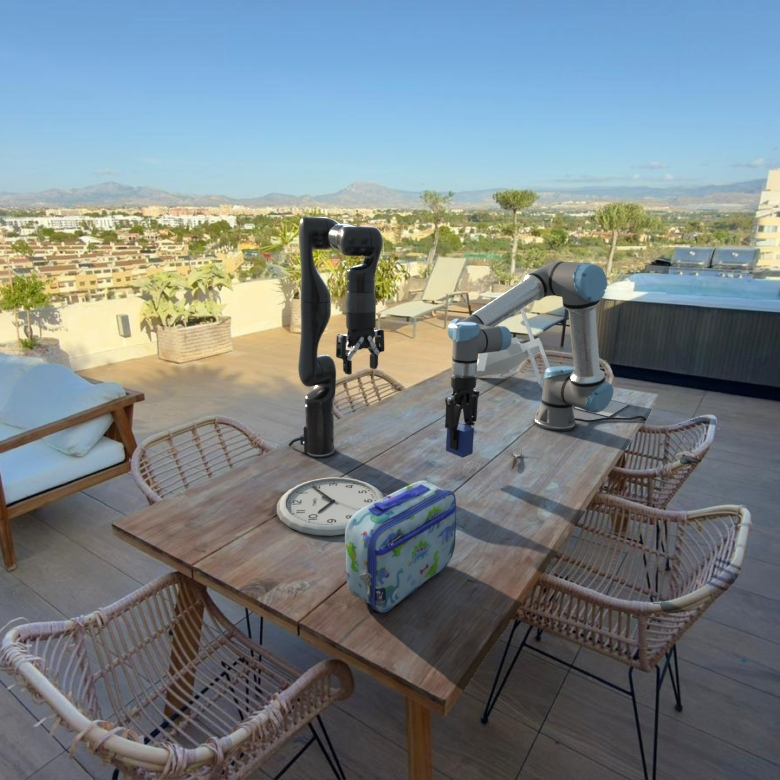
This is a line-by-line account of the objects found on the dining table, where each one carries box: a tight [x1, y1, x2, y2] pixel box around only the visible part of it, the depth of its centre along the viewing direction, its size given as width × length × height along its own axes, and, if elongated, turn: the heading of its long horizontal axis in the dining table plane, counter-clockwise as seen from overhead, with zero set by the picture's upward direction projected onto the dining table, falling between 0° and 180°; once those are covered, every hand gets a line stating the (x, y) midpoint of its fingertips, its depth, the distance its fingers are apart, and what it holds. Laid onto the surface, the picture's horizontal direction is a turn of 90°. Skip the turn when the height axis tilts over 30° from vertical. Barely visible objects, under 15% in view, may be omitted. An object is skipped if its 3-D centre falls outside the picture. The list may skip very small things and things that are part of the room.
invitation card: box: [573, 400, 629, 418], centre depth 226 cm, size 21×1×15 cm
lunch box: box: [344, 480, 457, 614], centre depth 109 cm, size 26×11×21 cm, turn 135°
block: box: [445, 422, 475, 459], centre depth 163 cm, size 5×7×9 cm
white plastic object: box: [475, 307, 551, 390], centre depth 259 cm, size 37×45×31 cm
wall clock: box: [276, 476, 386, 537], centre depth 142 cm, size 30×2×30 cm
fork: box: [511, 445, 523, 470], centre depth 172 cm, size 3×16×2 cm, turn 160°
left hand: (360, 371), depth 137 cm, fingers open, 8 cm apart
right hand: (459, 446), depth 163 cm, fingers closed on block, 5 cm apart
